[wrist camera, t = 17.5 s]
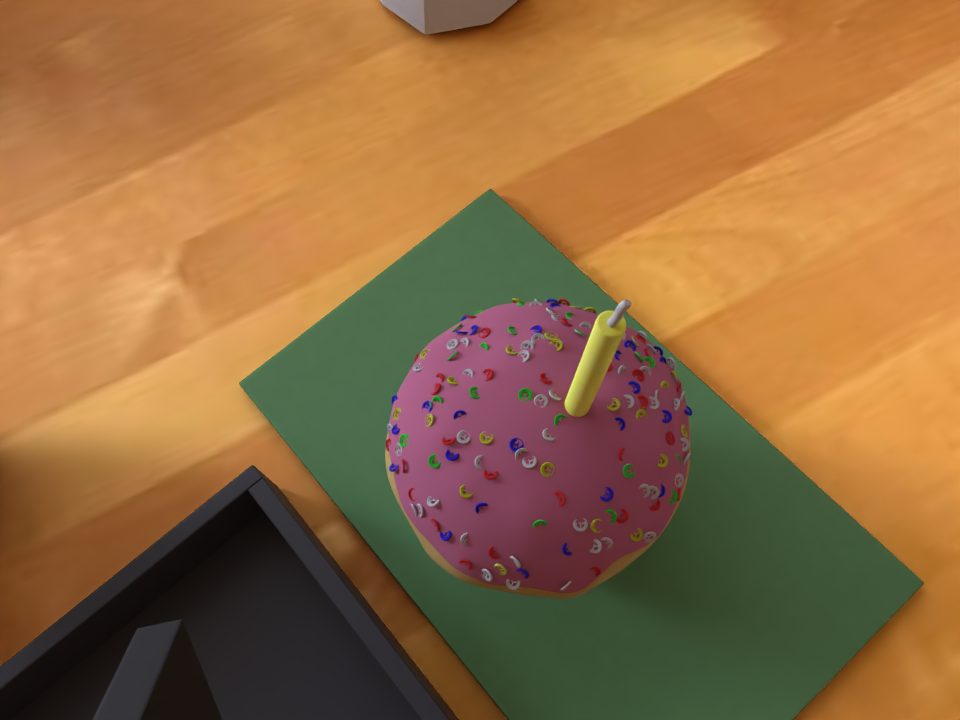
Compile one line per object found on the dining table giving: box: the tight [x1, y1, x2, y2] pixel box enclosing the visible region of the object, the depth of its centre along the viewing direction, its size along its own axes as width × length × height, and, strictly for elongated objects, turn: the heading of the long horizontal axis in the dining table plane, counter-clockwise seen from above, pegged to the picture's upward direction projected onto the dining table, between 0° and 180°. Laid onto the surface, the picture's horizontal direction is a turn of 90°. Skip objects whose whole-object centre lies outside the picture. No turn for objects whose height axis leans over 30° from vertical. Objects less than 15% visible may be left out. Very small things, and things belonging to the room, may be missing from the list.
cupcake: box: [385, 298, 693, 599], centre depth 22 cm, size 9×8×12 cm
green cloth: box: [239, 189, 924, 720], centre depth 28 cm, size 20×12×1 cm, turn 41°
